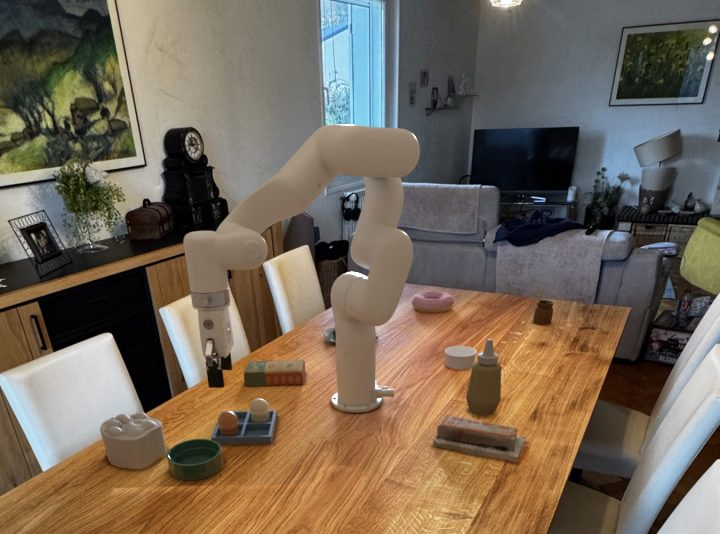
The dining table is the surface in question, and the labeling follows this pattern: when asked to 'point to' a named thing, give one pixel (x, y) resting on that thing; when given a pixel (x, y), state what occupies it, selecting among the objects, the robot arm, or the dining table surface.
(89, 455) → the dining table surface
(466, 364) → the ramekin
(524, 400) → the dining table surface
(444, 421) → the packaged product
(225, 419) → the brown egg
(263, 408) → the cream egg
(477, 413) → the squeeze bottle
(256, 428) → the egg tray
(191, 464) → the bowl
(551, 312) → the utensil holder
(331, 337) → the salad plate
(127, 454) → the lumpy-topped squat cylinder
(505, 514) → the dining table surface
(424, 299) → the donut
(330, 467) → the dining table surface
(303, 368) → the carton
